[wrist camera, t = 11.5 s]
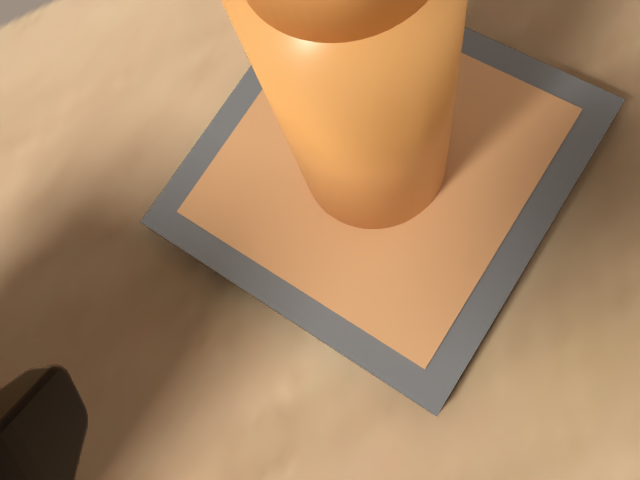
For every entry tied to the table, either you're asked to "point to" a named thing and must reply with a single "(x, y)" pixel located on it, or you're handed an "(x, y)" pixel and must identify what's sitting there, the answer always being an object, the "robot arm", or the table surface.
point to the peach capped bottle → (360, 96)
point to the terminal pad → (398, 241)
